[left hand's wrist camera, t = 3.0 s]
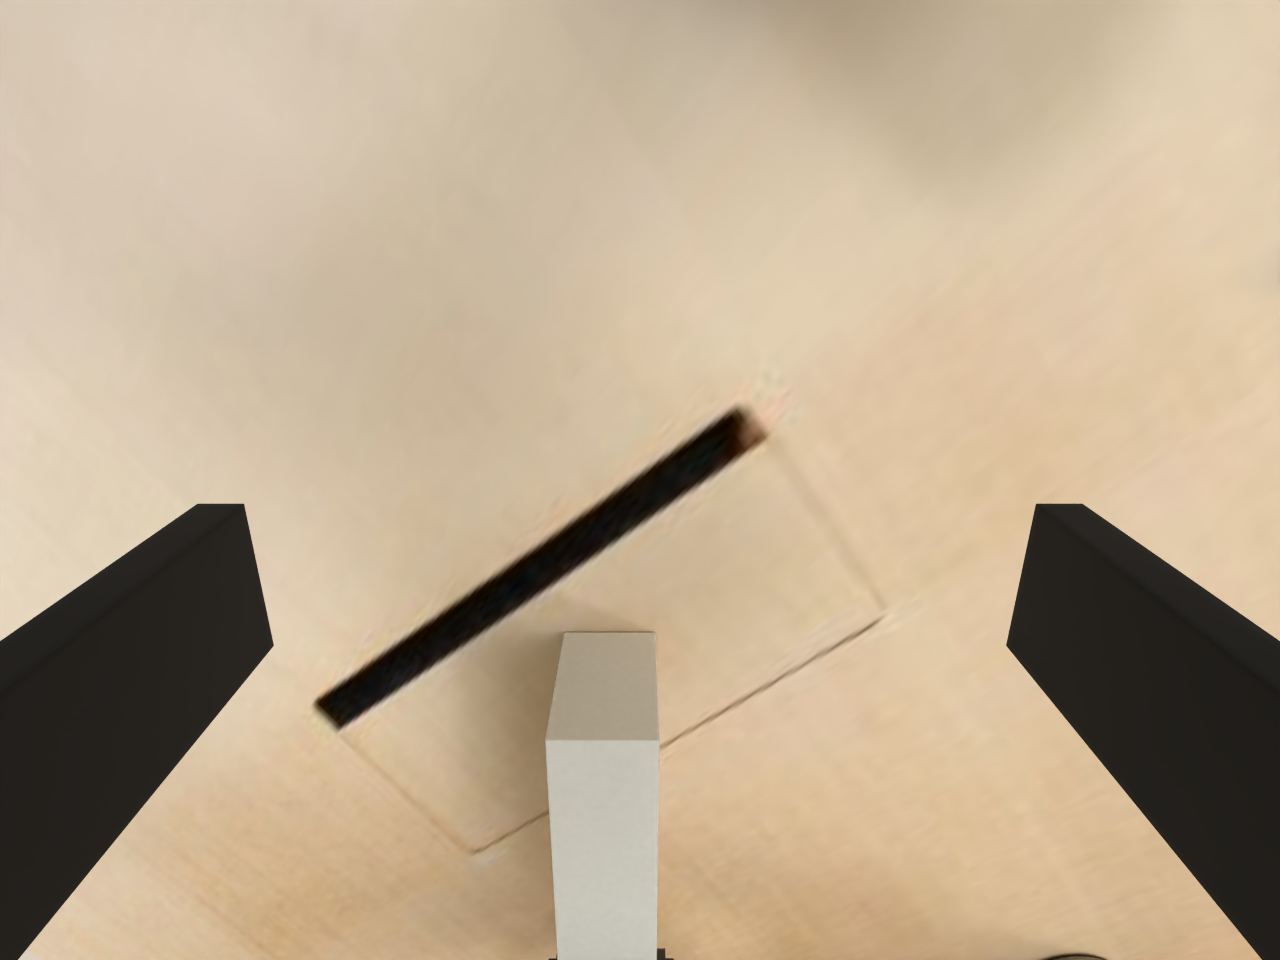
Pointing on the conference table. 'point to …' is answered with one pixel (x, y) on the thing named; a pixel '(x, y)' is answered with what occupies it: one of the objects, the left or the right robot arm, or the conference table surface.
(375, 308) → the conference table surface
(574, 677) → the bar
